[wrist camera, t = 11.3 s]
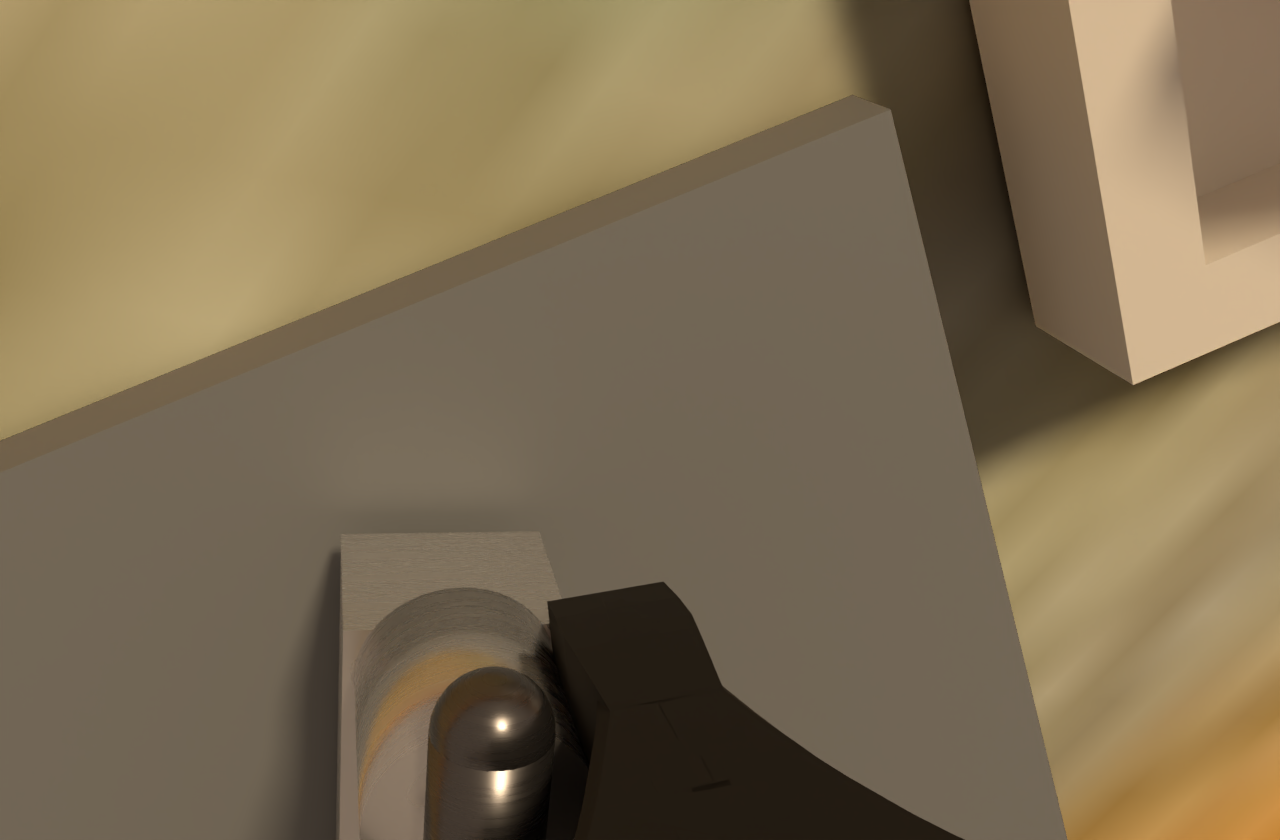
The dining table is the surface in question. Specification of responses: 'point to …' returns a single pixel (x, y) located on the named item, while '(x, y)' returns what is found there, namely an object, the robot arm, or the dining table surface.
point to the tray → (1140, 169)
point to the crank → (452, 692)
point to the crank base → (538, 502)
